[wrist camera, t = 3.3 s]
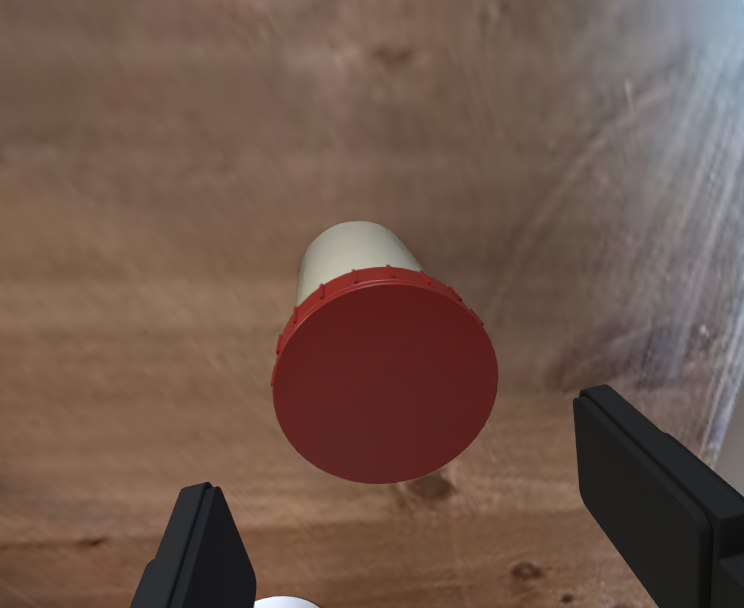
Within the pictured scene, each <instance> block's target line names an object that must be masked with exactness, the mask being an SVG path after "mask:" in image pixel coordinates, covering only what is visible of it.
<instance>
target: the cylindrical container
mask: <svg viewBox="0 0 744 608" xmlns="http://www.w3.org/2000/svg"><path fill="white" fill-rule="evenodd" d="M254 608H319V607H318V606H316V605H315V604H313V603H311V602H309V601H307V600H303V599H300V598H296V597H287V596H279V597H270V598H264V599H261V600H258V601H255V604H254Z"/></svg>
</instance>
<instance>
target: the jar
mask: <svg viewBox="0 0 744 608" xmlns="http://www.w3.org/2000/svg"><path fill="white" fill-rule="evenodd" d="M387 264H390V266H391V267H398V268H405V269H409V270H414V271H417V272H420V270H422V271H424V273H425V274H426V275H428V274H427V273H426V272H425V270H424V269H423V268H422V266H421V265H420V264H419V262H418V261H417V260H416V258H415V257H414V256H413V254H412V253H411V252H410V250H409V249H408V248H407V246H406V245H405V244H404V242H403V241H402V240H401V239H400V238H399V237H398V236H397V235H396V234H395V233H393V232H392V231H391V230H389V229H387V228H385V227H383V226H381V225H378V224H376V223H371V222H366V221H351V222H345V223H341V224H338V225H335V226H333V227H331V228H329V229H327V230H326V231H324V232H323V233H321V234H320V235H319V236H318V237H317V238H316V239H315V240H314V241H313V242H312V243H311V244H310V246H309V247H308V249H307V250H306V252H305V254H304V256H303V259H302V261H301V265H300V269H299V277H298V286H297V294H296V303H295V307H296V306H297V307H299V305H300V304H301V303H302V302H303V301H304V300H305V299H306V298H307V297H308V296H309V295H310V294H312V293H313V292H314V291H315V290H317V289H318V288H319V285H320V284H321V283H323V285H324V284H326V283H327V282H329V281H331V280H332V279H334V278H337V277H339V276H341V275H343V274H346V273H349V272H352V271H351V269H355V271H356V270H359V269H365V268H371V267H386V265H387Z"/></svg>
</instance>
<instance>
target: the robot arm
mask: <svg viewBox="0 0 744 608" xmlns="http://www.w3.org/2000/svg"><path fill="white" fill-rule="evenodd" d="M573 409H574V422H575V436H576V449H577V463H578V476H579V489H580V494H581V497H582V500H583V502H584V504H585V506H586V507H587V509H588V510H589V512H590V513H591V514H592V516H593V517H594V518H595V520H596V521H597V523H598V524H599V525H600V527H601V528H602V530H603V531H604V532H605V534H606V535H607V536H608V538H609V539H610V541H611V542H612V543H613V545H614V546H615V548H616V549H617V550H618V552H619V553H620V554H621V556H622V557H623V559H624V560H625V561H626V563H627V564H628V565H629V567H630V568H631V570H632V571H633V572H634V574H635V575H636V577H637V578H638V579H639V581H640V582H641V583H642V585H643V586H644V588H645V589H646V590H647V592H648V593H649V595H650V596H651V597H652V599H653V600H654V601H655V603H656V604H657V606H658V607H659V608H744V497H743V496H742V495H741V494H740V493H739V492H737V491H736V490H735V489H734V488H733V487H731V486H730V485H729V484H728V483H727V482H726V481H724V480H723V479H722V478H721V477H720V476H719V475H717V474H716V473H715V472H714V471H713V470H712V469H710V468H709V467H708V466H707V465H706V464H704V463H703V462H702V461H701V460H700V459H699V458H697V457H696V456H695V455H694V454H693V453H692V452H690V451H689V450H688V449H687V448H686V447H685V446H683V445H682V444H681V443H680V442H679V441H677V440H676V439H675V438H674V437H672V436H671V435H669V434H668V433H664V432H662V431H661V430H660V429H659V428H657V427H656V426H655V425H654V424H653V423H652V422H651V421H649V420H648V419H647V418H646V417H645V416H644V415H642V414H641V413H640V412H639V411H638V410H637V409H635V408H634V407H633V406H632V405H631V404H630V403H629V402H627V401H626V400H625V399H624V398H623V397H622V396H620V395H619V394H618V393H617V392H616V391H615V390H613V389H612V388H611V387H610V386H608V385H606V384H603V385H599V386H595V387H591V388H587V389H583V390H581V391H580V393H579V397H578V398H575V399H574V401H573ZM255 596H256V577H255V573H254V570H253V568H252V565H251V563H250V560H249V558H248V555H247V553H246V550H245V548H244V545H243V542H242V540H241V537H240V535H239V532H238V530H237V527H236V525H235V522H234V520H233V517H232V515H231V512H230V510H229V507H228V505H227V502H226V500H225V497H224V495H223V492H222V490H221V488H220V487H218V486H217V487H213V486H212V485H211V484H210V482H205V483H201V484H197V485H193V486H189V487H185V488H183V489H181V491H180V493H179V496H178V499H177V501H176V504H175V507H174V509H173V512H172V514H171V517H170V520H169V522H168V525H167V528H166V530H165V533H164V536H163V538H162V541H161V544H160V546H159V549H158V552H157V554H156V557H155V559H153V560H151V561H150V562H149V563H148V564H147V566H146V568H145V570H144V573H143V575H142V578H141V580H140V583H139V585H138V588H137V591H136V593H135V596H134V598H133V601H132V603H131V606H130V608H254V604H255Z"/></svg>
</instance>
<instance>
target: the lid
mask: <svg viewBox="0 0 744 608" xmlns="http://www.w3.org/2000/svg"><path fill="white" fill-rule="evenodd" d="M351 271H352V272H349V273H346V274H343V275H341V276H339V277H337V278H334V279H332V280H331V281H329V282H327V283H326V284H324V285H323V283H321V284H320V285H319V288H318V289H317V290H315V291H314V292H313V293H312V294H310V295H309V296H308V297H307V298H306V299H305V300H304V301H303V302H302V303H301V304H300V305H299V307H297V306H296V307H295V308H294V313H293V315H292V316H291V318H290V320H289V321H288V323H287V325H286V327H285V329H284V332H283V334H282V335H281V334H280V335H279V338H278V344H277V350H276V354H277V359H276V365H274V369H273V374H272V380H271V386H273V403H274V408H275V412H276V416H277V419H278V422H279V424H280V426H281V429H282V431H283V432H284V434H285V436H286V437H287V439H288V441H289V442H290V443H291V444H292V446H293V447H294V448H295V449H296V451H297V452H298V453H300V454H301V455H302V456H303V457H304V458H305V459H306V460H307V461H309V462H310V463H312V464H313V465H314V466H316V467H317V468H319V469H321V470H323V471H325V472H327V473H329V474H331V475H334V476H336V477H339V478H342V479H346V480H350V481H354V482H360V483H369V484H385V483H396V482H401V481H406V480H410V479H413V478H417V477H420V476H423V475H425V474H428V473H430V472H432V471H434V470H436V469H438V468H440V467H442V466H444V465H445V464H447V463H448V462H450V461H451V460H453V459H454V458H455V457H457V456H458V455H459V454H460V453H461V452H462V451H464V450H465V449H466V448H467V447H468V446H469V445H470V444H471V442H472V441H473V440H474V439H475V438H476V437H477V435H478V434H479V432H480V431H481V430H482V428H483V427H484V425H485V423H486V421H487V419H488V417H489V415H490V413H491V410H492V407H493V405H494V402H495V397H496V393H497V385H498V365H497V360H496V355H495V351H494V348H493V346H492V343H491V340H490V338H489V336H488V335H487V333H486V331H485V329H484V328H483V325H484V324H483V322H482V321H481V320H480V319H479V318H478V316H477V315H476V314H475V313H474V312H473V311H472V309H471V308H470V309H468V307H467V306H466V305H465V304H464V303H463V301H462V299H461V298H460V296H459V295H458V294H457V293H456V292H455V290H454V289H453V288H452V287H451V286H449V287H447V286H445V285H444V284H442V283H441V282H440V281H438V280H436V279H434V278H432V277H430V276H428V275H426V274H425V273H424V271H422V270H420V272H417V271H414V270H409V269H405V268H398V267H391V266H390V264H387V265H386V267H371V268H365V269H359V270H356V271H355V269H351Z"/></svg>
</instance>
